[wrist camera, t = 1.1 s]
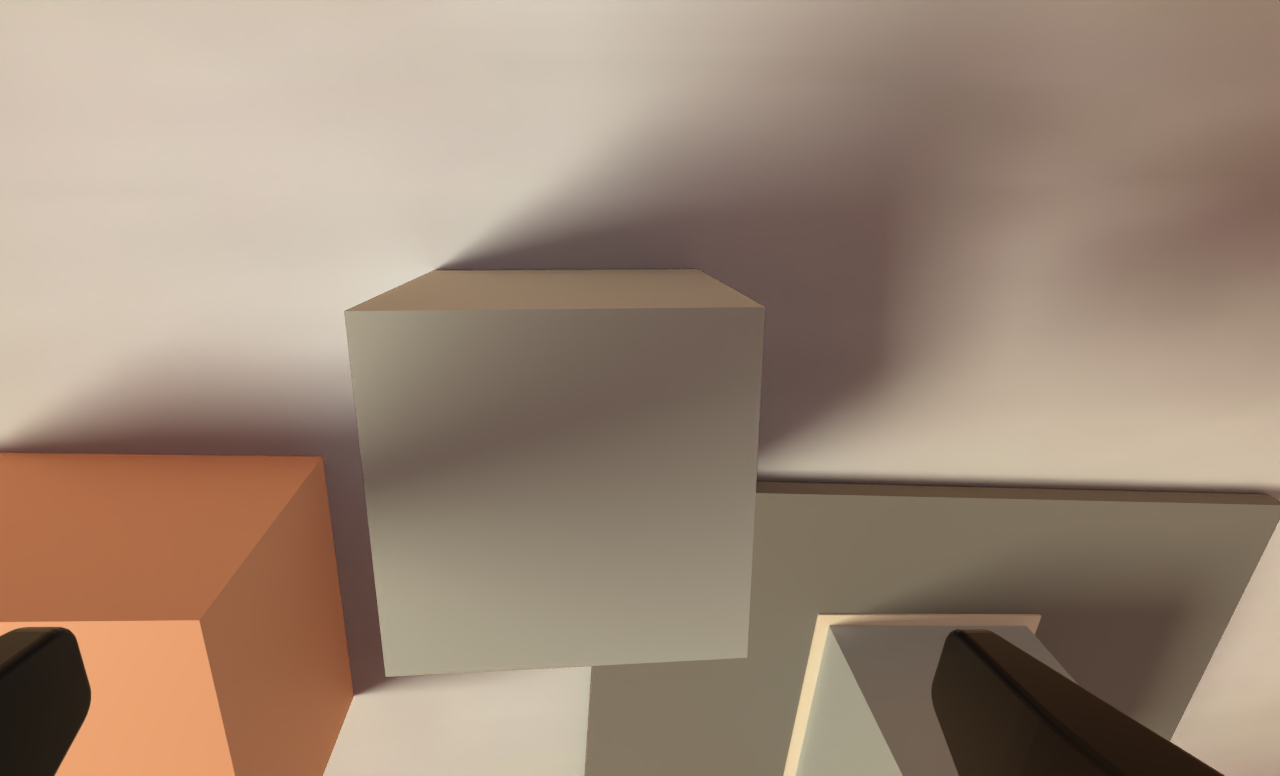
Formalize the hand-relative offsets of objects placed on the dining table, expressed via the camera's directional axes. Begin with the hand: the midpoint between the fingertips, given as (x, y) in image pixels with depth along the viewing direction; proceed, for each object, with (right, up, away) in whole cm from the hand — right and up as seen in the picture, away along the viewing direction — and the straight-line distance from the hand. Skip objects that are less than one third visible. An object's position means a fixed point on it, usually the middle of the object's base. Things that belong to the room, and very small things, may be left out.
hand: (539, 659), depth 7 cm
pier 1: (0, +3, +6) cm, 7 cm away
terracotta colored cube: (-9, -1, +8) cm, 12 cm away
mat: (+7, -9, +12) cm, 17 cm away
